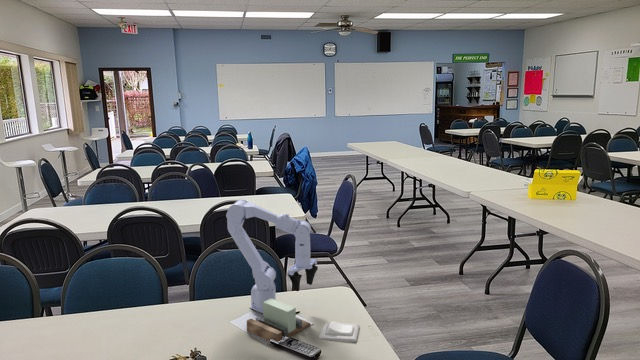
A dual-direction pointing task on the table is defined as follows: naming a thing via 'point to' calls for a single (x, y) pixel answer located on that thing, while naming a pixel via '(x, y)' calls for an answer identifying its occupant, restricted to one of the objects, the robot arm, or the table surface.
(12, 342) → the table surface
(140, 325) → the table surface
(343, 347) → the table surface
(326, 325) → the light switch
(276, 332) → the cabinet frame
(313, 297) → the table surface
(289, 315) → the pale green foam block
